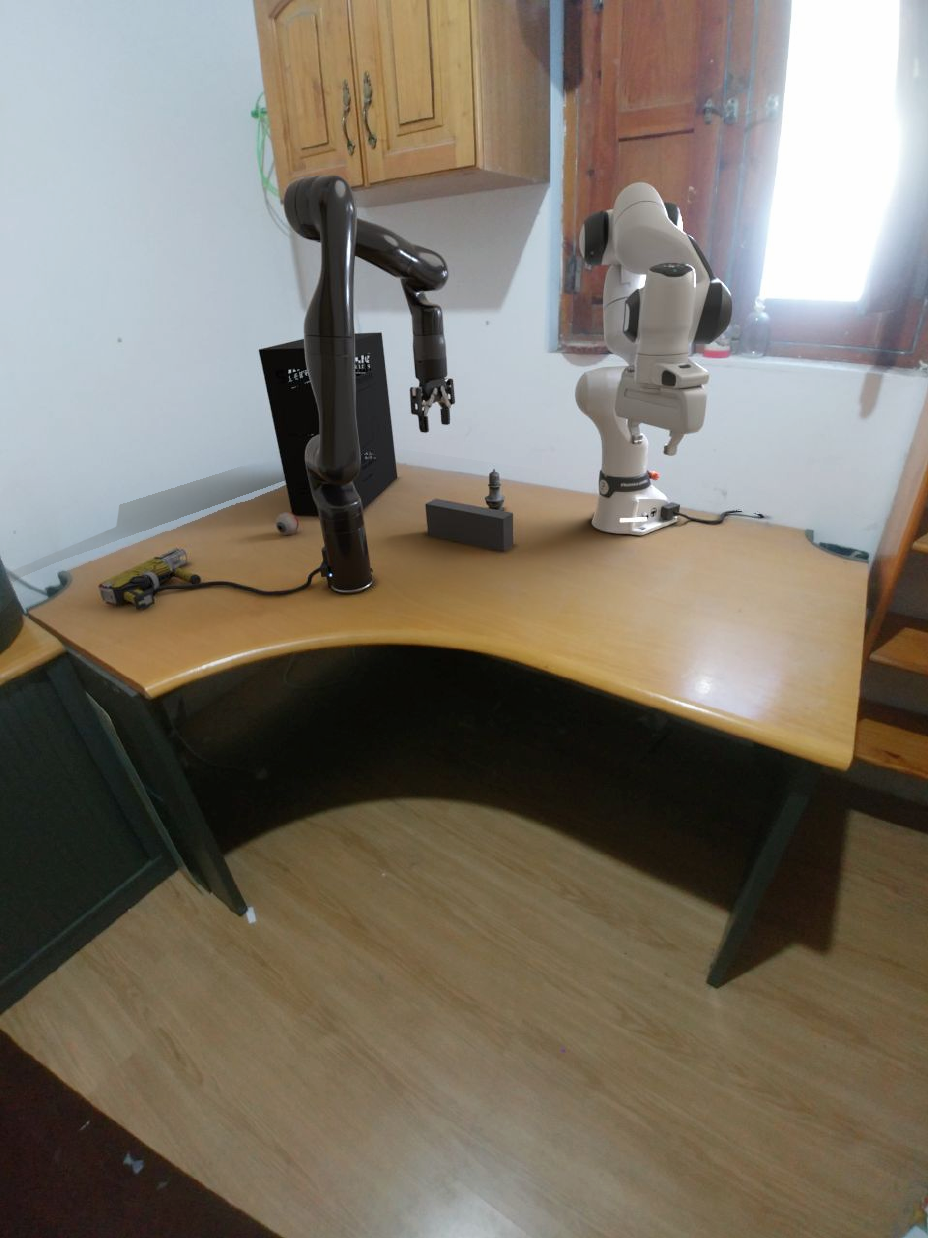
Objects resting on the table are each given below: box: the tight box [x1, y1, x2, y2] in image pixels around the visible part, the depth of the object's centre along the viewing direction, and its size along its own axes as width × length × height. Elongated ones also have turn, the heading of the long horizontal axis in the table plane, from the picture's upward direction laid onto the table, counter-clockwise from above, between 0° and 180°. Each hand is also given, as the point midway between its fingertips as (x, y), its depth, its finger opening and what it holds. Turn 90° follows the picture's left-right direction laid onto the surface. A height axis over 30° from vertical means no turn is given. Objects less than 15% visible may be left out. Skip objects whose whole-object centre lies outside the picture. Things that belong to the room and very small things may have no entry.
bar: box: [425, 498, 514, 553], centre depth 153 cm, size 24×5×9 cm, turn 55°
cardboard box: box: [258, 332, 398, 517], centre depth 181 cm, size 38×20×45 cm, turn 167°
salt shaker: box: [484, 468, 506, 511], centre depth 170 cm, size 6×6×12 cm
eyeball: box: [275, 511, 300, 536], centre depth 163 cm, size 6×6×6 cm
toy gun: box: [98, 547, 202, 611], centre depth 139 cm, size 5×24×15 cm
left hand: (435, 428), depth 146 cm, fingers open, 8 cm apart
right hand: (652, 449), depth 113 cm, fingers open, 8 cm apart
